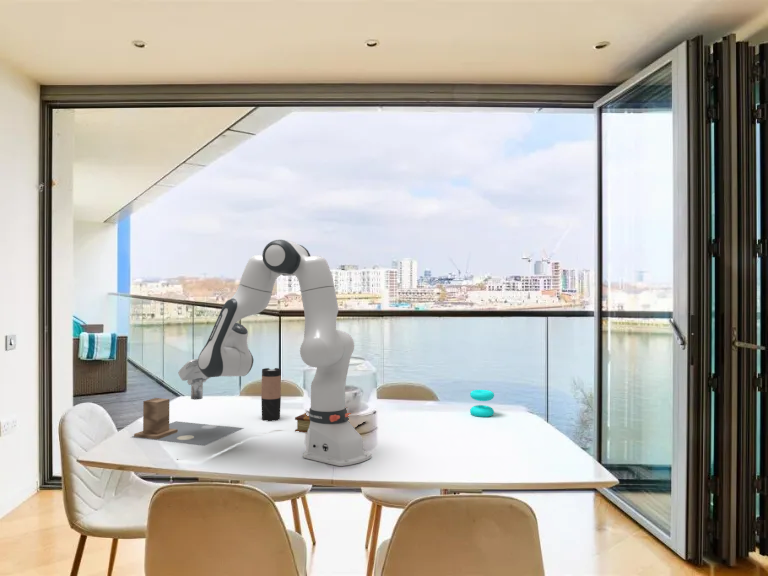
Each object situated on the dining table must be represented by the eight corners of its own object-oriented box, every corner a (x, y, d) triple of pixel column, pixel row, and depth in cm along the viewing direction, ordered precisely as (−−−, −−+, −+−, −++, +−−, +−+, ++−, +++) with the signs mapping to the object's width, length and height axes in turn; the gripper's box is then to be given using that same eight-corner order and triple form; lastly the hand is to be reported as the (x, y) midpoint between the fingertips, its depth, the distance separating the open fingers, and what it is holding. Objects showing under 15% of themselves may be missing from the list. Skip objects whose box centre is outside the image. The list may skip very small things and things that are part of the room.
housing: (177, 432, 197) (177, 398, 197) (158, 439, 187) (158, 404, 187) (154, 429, 200) (154, 396, 200) (134, 436, 190) (134, 401, 190)
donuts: (495, 390, 237) (492, 394, 227) (495, 413, 237) (492, 418, 227) (472, 388, 240) (468, 392, 230) (472, 411, 240) (468, 416, 230)
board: (244, 430, 203) (244, 428, 203) (204, 448, 181) (204, 445, 181) (176, 423, 212) (176, 421, 212) (129, 440, 190) (129, 437, 190)
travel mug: (270, 422, 217) (270, 371, 217) (257, 419, 221) (257, 369, 221) (284, 418, 223) (285, 369, 223) (271, 415, 227) (272, 367, 227)
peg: (204, 398, 198) (205, 370, 198) (193, 400, 195) (194, 371, 195) (199, 396, 201) (200, 369, 201) (188, 398, 198) (189, 370, 198)
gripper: (195, 367, 183) (175, 393, 188) (241, 361, 201) (221, 384, 206) (186, 353, 186) (167, 379, 191) (232, 347, 203) (213, 371, 208)
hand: (195, 382), depth 199 cm, fingers closed on peg, 4 cm apart
